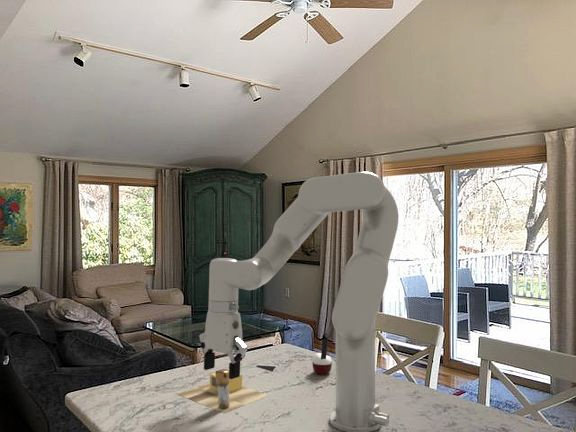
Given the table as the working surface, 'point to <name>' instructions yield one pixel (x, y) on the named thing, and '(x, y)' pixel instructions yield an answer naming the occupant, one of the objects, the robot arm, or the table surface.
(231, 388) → the yellow rectangular block
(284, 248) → the robot arm
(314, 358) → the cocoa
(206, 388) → the subfloor panel
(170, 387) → the table surface
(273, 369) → the smartphone
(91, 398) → the table surface
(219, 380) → the two-tone metal cylinder
